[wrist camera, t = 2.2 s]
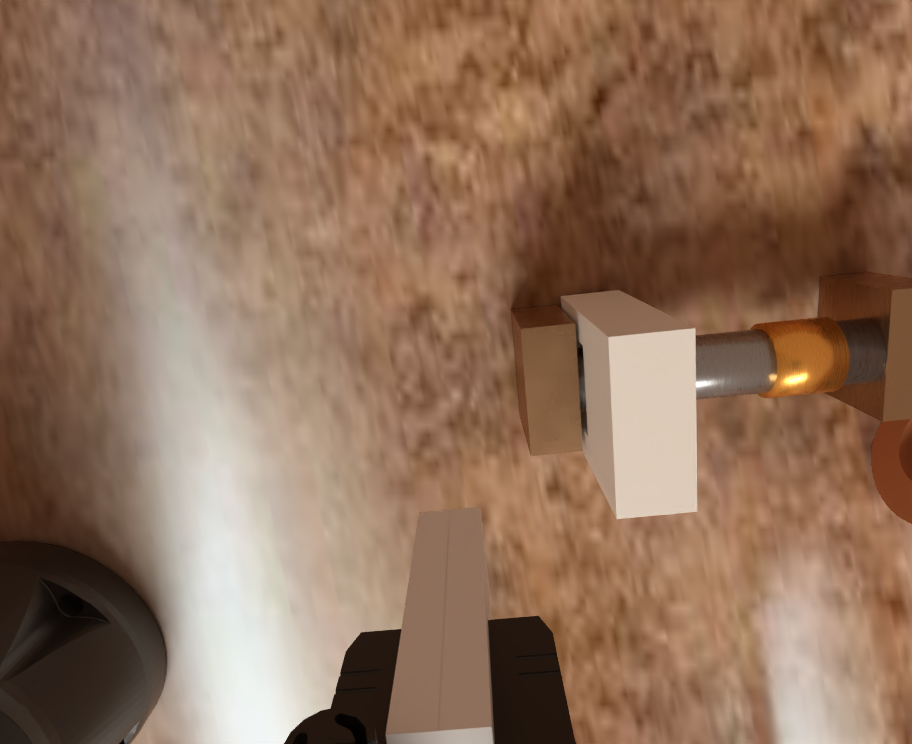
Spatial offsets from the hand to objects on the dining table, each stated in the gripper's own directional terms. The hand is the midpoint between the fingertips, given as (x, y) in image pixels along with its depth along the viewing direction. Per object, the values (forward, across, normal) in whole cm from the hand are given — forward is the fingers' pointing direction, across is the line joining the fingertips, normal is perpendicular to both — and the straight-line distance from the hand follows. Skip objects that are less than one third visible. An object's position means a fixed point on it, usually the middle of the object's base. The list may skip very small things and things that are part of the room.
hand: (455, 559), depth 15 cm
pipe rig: (+19, +12, 0) cm, 22 cm away
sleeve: (+19, +7, 0) cm, 20 cm away
